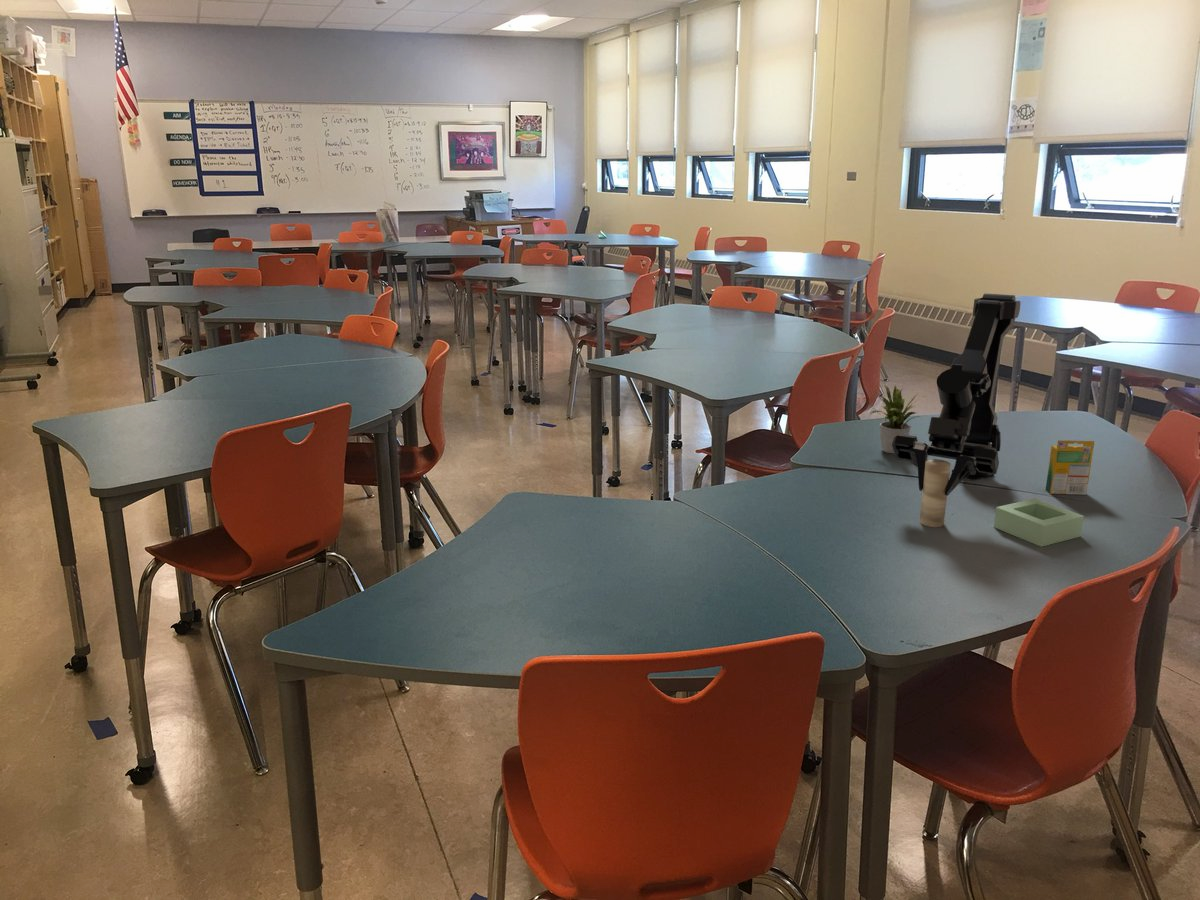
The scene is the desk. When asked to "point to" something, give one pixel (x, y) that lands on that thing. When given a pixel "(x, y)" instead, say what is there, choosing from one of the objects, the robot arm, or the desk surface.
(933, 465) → the beige ridged cylinder
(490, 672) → the desk surface
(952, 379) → the robot arm
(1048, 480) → the crayon box
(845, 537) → the desk surface
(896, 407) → the house plant
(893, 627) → the desk surface
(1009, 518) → the pale green square holder
